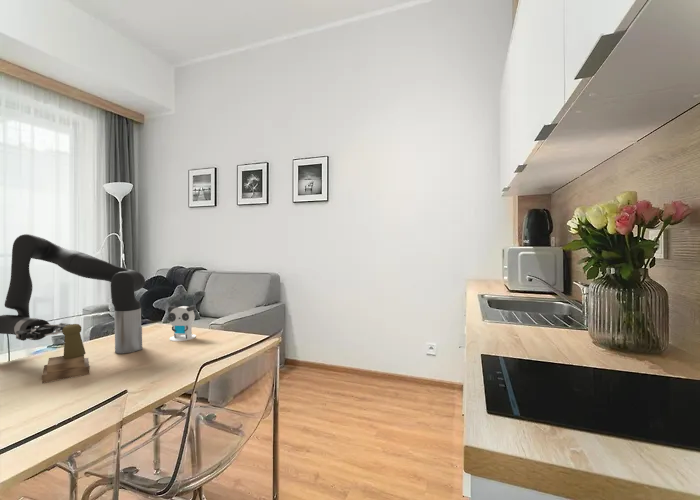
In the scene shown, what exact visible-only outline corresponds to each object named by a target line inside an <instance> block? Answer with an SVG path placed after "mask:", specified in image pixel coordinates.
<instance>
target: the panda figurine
mask: <svg viewBox="0 0 700 500" xmlns="http://www.w3.org/2000/svg"><path fill="white" fill-rule="evenodd" d="M195 309H196V307H195V305H191V306H186V305H182V306H177V305H172V306H169V307H168V308H167V312H168V313H169V314H168V317H167V319H168V322H169V323H170V325H171V326H172V327H171V330H172V331H173V336H170V337H169V341H170V342H185V341H190V340H193V339H195V338H197V335H196V334H195V333H192V332H193V331H192V325H193V323H194V321H195V318H196V315H195V312H194V310H195Z"/></svg>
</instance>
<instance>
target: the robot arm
mask: <svg viewBox="0 0 700 500" xmlns="http://www.w3.org/2000/svg"><path fill="white" fill-rule="evenodd" d="M11 250H12V251H11V264H10V265H11V268H10V281H9V286H8V290H7V294H6V297H5V301H4V307H5V308H6V309H10V310H15V311H16V312H17V314H0V334H3V335H14V336H15V339H16V340H20V341H26V340H31V341H39V340H42V339H44V338H45V337H47V336H50V335H52V336H53V335H58V334H63V333H62V329H63V328H64V327H65V326H67V325H71V323H63V322H60V323H59V324H51V323H50V322H48V321H47V320H45V319H42V318H41V319H40V318H37V317H36V318H35V317H30V302H31V297H32V293H33V280H32V277H31V272H30V263H31V260H32V259H33V260H39V261H43V262H44V261H45V262H48V263H51V264H53V265H56V266H58V267H60V268H61V269H62V270H64V271H66V272H68V273H70V274H73V275H76V276H78V277H81V278H86V279H91V280H99V281H105V282H109V283H110V296H111V302H112V305H113V308H114V352H115V354H129V353H133V352H139V351H141V350H143V326H142V305H141V301H139V300H138V299H136V297H135V295H136V294H135V292H138V291H140V290H141V289H143V288H144V286H145V284H146V279H145V277H144V275H143V274H142V273H141V272H139V271H137V270H134V269H130V268H126V267H123V266H117V265H115V264H112V263H110V262H107V261H106V260H103V259H101V258H100V259H99V258H97V257H95V256H93V255H89V254H87V253H84V252H82V251H78V250H74V249H68V248H65V247H62V246H60V245H58V244H56V243H53V242H51V241H49V240H48V239H46V238H44V237H41V236H40V237H39V236H37V235H34V234H28V233H26V234H21V235H19V236H17V237H16V238H15V239H14V241H13V243H12V249H11Z"/></svg>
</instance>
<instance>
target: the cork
mask: <svg viewBox="0 0 700 500" xmlns="http://www.w3.org/2000/svg"><path fill="white" fill-rule="evenodd" d="M70 324H71V323H70ZM61 331H62V333H61V334H62V335H64V340H63V342H64V343H63V344H64V345H63V356H64V357H63V358H65V359H72V358H76V357H80V356H82V355H84V356H85V354H86V350H85V346H84V343H83V340H82V335H81V332H82V325H80V324H78V323H73V324H71V325H67V326H65V327H64V328H63V329H62V330H61Z"/></svg>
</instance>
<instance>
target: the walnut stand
mask: <svg viewBox="0 0 700 500" xmlns="http://www.w3.org/2000/svg"><path fill="white" fill-rule="evenodd" d="M63 357H64V355H61V356H55V357H54V356H53V357H49V358H48V360H47V364H44V365H43V370H42V373H41V384H47V383H51V382H55V381H61V380H62V381H63V380H65V379H71V378H75V377H76V378H77V377H80V376H86V375H90V361H89V357H85V354H84V355H82V356H80V357H76V358H72V359H65V358H63Z"/></svg>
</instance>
